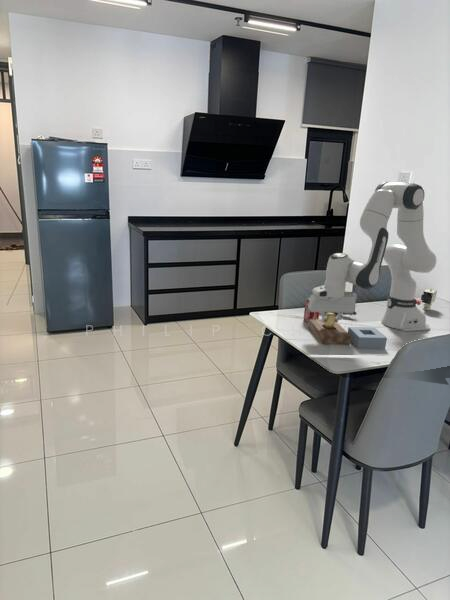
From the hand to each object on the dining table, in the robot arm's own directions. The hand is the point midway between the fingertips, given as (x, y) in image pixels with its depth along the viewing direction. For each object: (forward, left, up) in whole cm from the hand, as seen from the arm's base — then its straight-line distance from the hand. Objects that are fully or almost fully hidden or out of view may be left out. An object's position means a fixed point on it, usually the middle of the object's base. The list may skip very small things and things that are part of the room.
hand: (329, 321), depth 192 cm
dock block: (-14, +8, -8) cm, 18 cm away
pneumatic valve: (-72, -45, -8) cm, 86 cm away
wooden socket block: (0, 0, -8) cm, 8 cm away
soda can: (+2, -19, -8) cm, 21 cm away
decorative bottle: (-12, -34, -8) cm, 37 cm away
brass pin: (0, 0, -7) cm, 7 cm away
